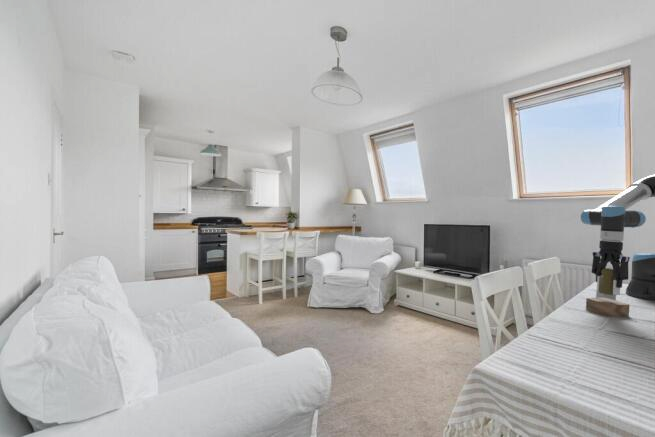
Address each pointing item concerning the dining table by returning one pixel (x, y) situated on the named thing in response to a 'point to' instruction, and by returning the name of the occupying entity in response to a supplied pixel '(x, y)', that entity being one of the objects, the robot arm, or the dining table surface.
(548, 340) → the dining table surface
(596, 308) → the walnut block
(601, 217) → the robot arm
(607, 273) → the cork
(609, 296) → the slate block
